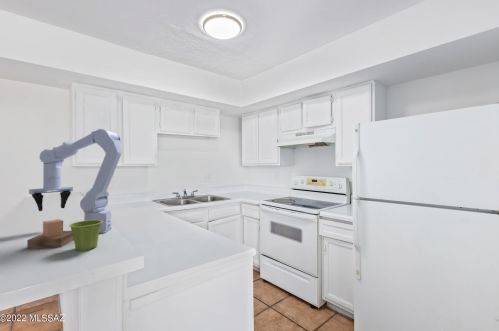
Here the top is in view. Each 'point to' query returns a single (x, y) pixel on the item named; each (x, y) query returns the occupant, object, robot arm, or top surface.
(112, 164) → the robot arm
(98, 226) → the plant pot
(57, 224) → the terracotta block
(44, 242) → the walnut plinth
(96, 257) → the top surface
